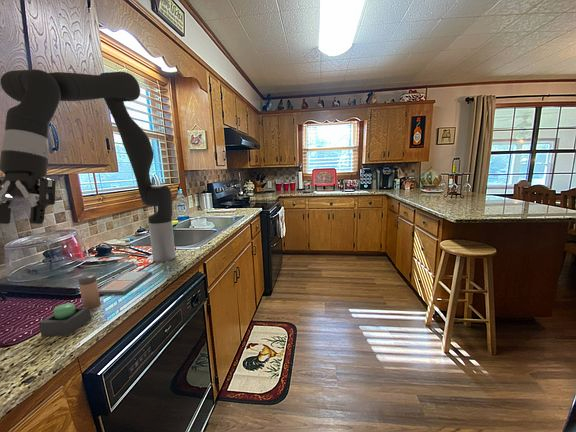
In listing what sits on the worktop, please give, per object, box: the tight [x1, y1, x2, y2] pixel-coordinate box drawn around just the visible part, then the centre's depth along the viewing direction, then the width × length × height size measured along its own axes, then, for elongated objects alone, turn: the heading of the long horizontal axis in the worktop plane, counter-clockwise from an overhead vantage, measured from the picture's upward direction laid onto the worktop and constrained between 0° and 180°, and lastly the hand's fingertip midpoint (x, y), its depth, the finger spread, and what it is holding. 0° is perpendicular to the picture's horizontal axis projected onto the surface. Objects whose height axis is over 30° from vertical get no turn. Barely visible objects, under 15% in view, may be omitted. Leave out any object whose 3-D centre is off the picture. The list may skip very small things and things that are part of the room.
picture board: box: [98, 270, 153, 295], centre depth 87 cm, size 16×10×1 cm, turn 0°
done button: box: [52, 302, 76, 319], centre depth 62 cm, size 4×4×2 cm
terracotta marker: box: [77, 274, 101, 310], centre depth 72 cm, size 4×4×9 cm
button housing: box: [38, 306, 92, 337], centre depth 63 cm, size 7×7×4 cm
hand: (19, 223), depth 56 cm, fingers open, 8 cm apart
